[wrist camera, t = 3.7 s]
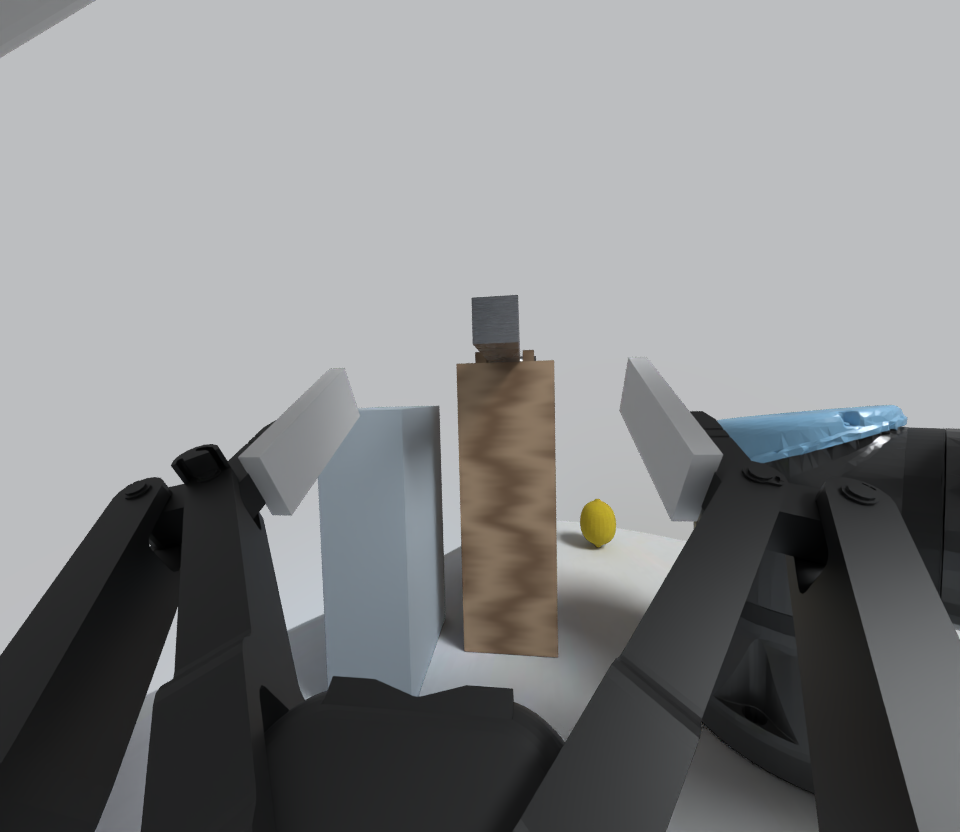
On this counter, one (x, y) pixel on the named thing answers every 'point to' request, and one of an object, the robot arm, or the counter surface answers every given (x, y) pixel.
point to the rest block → (384, 547)
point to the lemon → (598, 522)
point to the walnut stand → (508, 506)
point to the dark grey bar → (497, 328)
